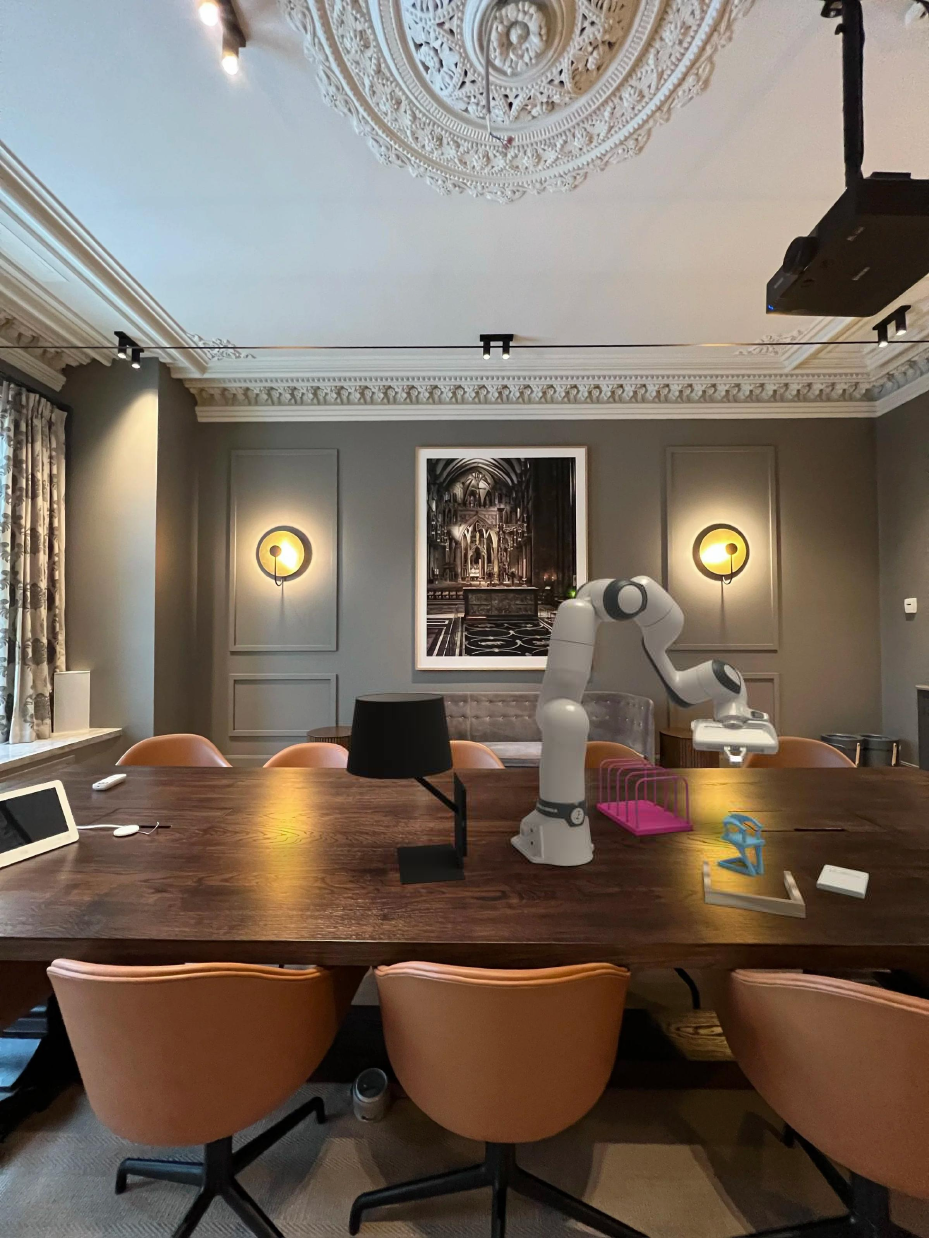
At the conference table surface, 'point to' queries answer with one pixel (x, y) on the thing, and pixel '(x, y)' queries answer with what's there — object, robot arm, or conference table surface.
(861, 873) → the external hard drive
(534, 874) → the conference table surface
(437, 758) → the table lamp
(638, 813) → the file sorter
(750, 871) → the chair
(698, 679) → the robot arm
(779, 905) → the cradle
